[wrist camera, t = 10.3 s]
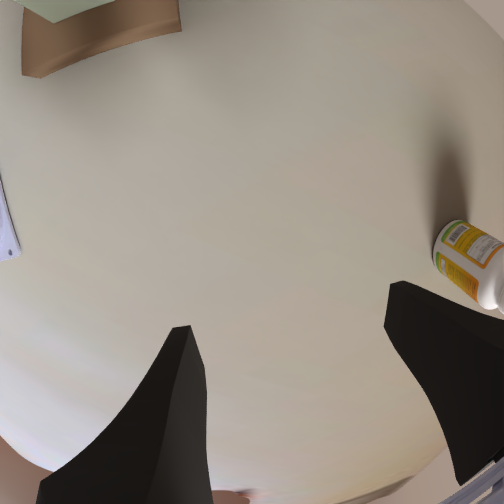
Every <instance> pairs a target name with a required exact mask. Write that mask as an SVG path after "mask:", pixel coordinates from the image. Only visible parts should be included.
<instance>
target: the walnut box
mask: <svg viewBox="0 0 504 504" xmlns="http://www.w3.org/2000/svg"><path fill="white" fill-rule="evenodd" d="M179 31H182V29H181V20H180V11H179V2H178V0H115V1H113V2H109V3H106V4H103V5H100V6H97V7H94V8H91V9H88V10H86V11H83V12H80V13H78V14H75V15H73V16H70V17H68V18H66V19H63V20H61V21H59V22H56V23H54V24H53V23H52V22H50V21H48V20H47V19H45V18H43V17H42V16H40V15H38V14H37V13H35V12H33V11H31V10H30V9H28V8H26V7H24V13H23V26H22V75H24V76H30V77H36V78H43V77H45V76H47V75H49V74H51V73H53V72H55V71H57V70H59V69H62V68H64V67H66V66H68V65H71V64H73V63H76V62H78V61H80V60H83V59H86V58H88V57H91V56H93V55H96V54H99V53H102V52H105V51H108V50H110V49H114V48H117V47H120V46H123V45H126V44H130V43H133V42H137V41H140V40H144V39H148V38H152V37H156V36H160V35H165V34H169V33H174V32H179Z"/></svg>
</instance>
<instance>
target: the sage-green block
mask: <svg viewBox="0 0 504 504" xmlns="http://www.w3.org/2000/svg"><path fill="white" fill-rule="evenodd" d="M13 1H15V2H17V3H19V4H21V5H22V6H24V7H26V8H28V9H30V10H31V11H33V12H35V13H37V14H38V15H40V16H42V17H43V18H45V19H47V20H48V21H50V22H52V23H53V24H54V23H56V22H59V21H61V20H63V19H66V18H68V17H70V16H73V15H75V14H78V13H80V12H83V11H86V10H88V9H91V8H94V7H97V6H100V5H103V4H106V3H109V2H113V1H115V0H13Z"/></svg>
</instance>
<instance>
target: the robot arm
mask: <svg viewBox="0 0 504 504" xmlns="http://www.w3.org/2000/svg"><path fill="white" fill-rule="evenodd" d="M10 250H11V251H12V253H11V251H10ZM20 253H21V250H20V246H19V244H18V241H17V238H16V235H15V232H14V229H13V225H12V222H11V219H10V215H9V212H8V208H7V205H6V201H5V197H4V193H3V189H2V185H1V180H0V261H4V260H8V259H11V258H15V257H17V256H19V255H20ZM384 328H385V330H386V333H387V335H388V337H389V339H390V340H391V342H392V344H393V346H394V348H395V349H396V351H397V352H398V354H399V355H400V357H401V358H402V359H403V361H404V362H405V364H406V365H407V367H408V368H409V369H410V371H411V372H412V374H413V375H414V377H415V378H416V380H417V381H418V382H419V384H420V385H421V387H422V388H423V390H424V392H425V393H426V395H427V397H428V399H429V401H430V403H431V405H432V407H433V409H434V411H435V413H436V416H437V418H438V420H439V423H440V425H441V428H442V430H443V433H444V435H445V438H446V441H447V444H448V447H449V450H450V454H451V458H452V462H453V466H454V471H455V477H456V480H457V481H458V483H459V485H460V486H462V485H463V484H465V483H466V482H468V481H469V480H470V479H472V478H473V477H475V476H476V475H477V474H479V473H480V472H481V471H483V470H484V469H485V468H486V467H488V466H489V465H490V464H492V463H493V462H495V463H496V464H495V465H493V466H492V467H491V468H490V469H488V470H487V471H486V472H484V473H483V474H482V475H480V476H479V477H478V478H476V479H475V480H474V481H472V482H471V483H470V484H468V485H467V486H465V487H464V488H462V489H461V490H459V491H458V492H457V493H455V494H453V495H452V496H450V497H449V498H447V499H445V500H444V501H442V502H440V503H439V504H469V503H470V502H472V501H473V500H475V499H476V498H477V497H479V496H480V495H481V494H482V493H484V492H485V491H486V490H488V489H489V488H490V487H491V486H493V487H492V492H491V493H490V494H488V495H487V496H485V497H484V498H482V499H481V500H480V501H478V502H477V503H475V504H504V320H501V319H498V318H495V317H492V316H488V315H485V314H482V313H480V312H477V311H474V310H472V309H469V308H467V307H464V306H462V305H460V304H457V303H455V302H453V301H450V300H448V299H446V298H444V297H441V296H439V295H437V294H435V293H433V292H430V291H428V290H426V289H424V288H422V287H419V286H417V285H414V284H412V283H409V282H406V281H399V282H396V283H392V284H390V290H389V297H388V304H387V310H386V316H385V322H384ZM206 416H207V388H206V378H205V368H204V364H203V361H202V359H201V356H200V353H199V350H198V347H197V344H196V341H195V338H194V335H193V331H192V328H191V325H188V326H182V327H175V328H172V330H171V331H170V333H169V335H168V337H167V339H166V341H165V342H164V344H163V346H162V348H161V350H160V351H159V353H158V355H157V357H156V359H155V360H154V362H153V364H152V365H151V367H150V369H149V370H148V372H147V374H146V375H145V377H144V378H143V380H142V381H141V383H140V384H139V386H138V387H137V389H136V390H135V392H134V394H133V395H132V396H131V398H130V399H129V400H128V402H127V403H126V405H125V406H124V407H123V408H122V410H121V411H120V412H119V413H118V415H117V416H116V417H115V418H114V419H113V421H112V422H111V423H110V424H109V425H108V426H107V427H106V428H105V429H104V430H103V431H102V432H101V433H100V434H99V435H98V437H97V438H96V439H95V440H94V441H93V442H92V443H90V444H89V445H88V446H87V447H86V448H85V449H84V450H83V451H82V452H80V453H79V454H78V455H77V456H76V457H74V458H73V459H72V460H71V461H69V462H68V463H67V464H65V465H64V466H63V467H61V468H60V469H58V470H57V471H55V472H54V473H52V474H51V475H49V476H48V477H46V478H45V479H43V480H42V481H41V482H40V485H39V490H38V495H37V501H36V504H213V498H212V492H211V486H210V479H209V472H208V464H207V453H206Z"/></svg>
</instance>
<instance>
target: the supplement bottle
mask: <svg viewBox="0 0 504 504" xmlns="http://www.w3.org/2000/svg"><path fill="white" fill-rule="evenodd" d="M433 261H434V265H435V267H436V269H437V270H438V271H439V272H440V273H442V274H443V275H444V276H445V277H447V278H448V279H449V280H451V281H452V282H453V283H454V284H456V285H457V286H458V287H459V288H460V289H462V290H463V291H464V292H465V293H466V294H468V295H469V296H470V297H471V298H472V299H474V300H475V301H476V302H477V303H478V304H479V305H481V306H482V307H483V308H485V309H495V308H497V307H498V309H499V310H500V311H501V313H502V314H504V243H503V242H501V241H499V240H498V239H496V238H494V237H492V236H491V235H489V234H487V233H485V232H483V231H482V230H480V229H478V228H476V227H474V226H472V225H471V224H469V223H467V222H465V221H462V220H454V221H452V222H450V223H449V224H447V225H446V226H445V227H444V228H443V229H442V231H441V232H440V234H439V235H438V237H437V240H436V242H435V246H434V251H433Z"/></svg>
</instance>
